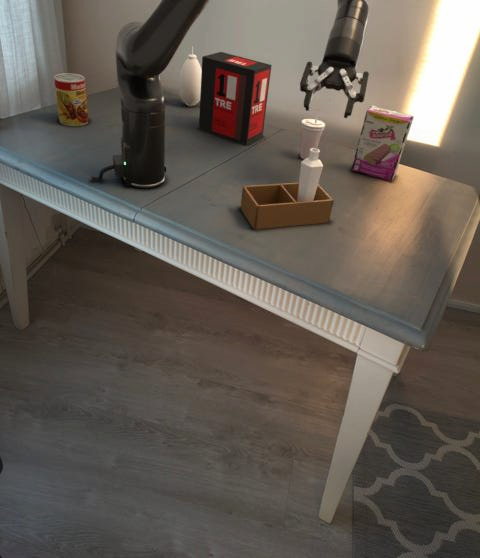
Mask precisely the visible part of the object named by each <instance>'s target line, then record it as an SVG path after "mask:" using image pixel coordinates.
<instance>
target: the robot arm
mask: <svg viewBox="0 0 480 558" xmlns="http://www.w3.org/2000/svg"><path fill="white" fill-rule="evenodd" d="M210 2H211V0H161V1H160V2H159V4H158V5H157V7H156V8H155V9H154V10H153V12H152V13H151V14H150V16H149V17H148V18H147V19H146V20H145V21H141V20H132V21H128V22H127V23H125V24H124V25H122V26H121V28H120V29H119V31H118V32H117V35H116V38H115V46H114V47H115V48H114V50H115V51H114V53H115V66H116V67H115V68H116V81H117V88H118V92H119V93H118V94H119V96H120V109H121V110H120V113H121V133H122V135H121V137H120V145H121V154H113V155H112V164H111V165H108V166H105V167H103V168H101V170H100V171H99V172H98V176H91V181H92V182H99V181H101V180H103V178H104V174H105V173H107V172H109V171H111V170H113V171H114V174H115V177H116V178H123V181H124V183H125V186H126V187H133V188H138V189H153V188H158V187H160V186H162V185H163V184H164V183H165V180H166V177H165V174H166V173H167V167H166V166H165V157H166V156H165V155H166V154H165V151H166V149H165V148H166V147H165V145H166V144H165V143H166V141H165V139H166V138H165V137H166V136H165V135H166V134H165V133H166V132H165V131H166V129H165V128H166V127H165V125H166V118H165V117H166V96H165V92H164V89H163V86H162V80H161V74H162V73H163V72H164V71H165V70H166V69H167V67H168V66H169V64H170V63H171V61H172V59H173V58H174V55H175V54H176V52H177V51H178V49H179V47H180V46H181V44H182V42H183V40H184V39H185V37H186V35H187V34H188V32H189V30H190V29H191V27H192V26H193V25H194V23H195V22H196V20H197V19H198V18H199V16H201V14H202V13H203V11H204V10H205V9H206V8H207V6H208V5H209V3H210ZM369 14H370V7H369V4H368V2H367V1H366V0H337V10H336V12H335V17H334V21H333V25H332V27H331V30H330V31H329V35H328V40H327V42H326V46H325V50H324V53H323V58H322V60H321V63H320V64H319V65H314V64H313V62H312V61H308V62H306V65H305V66H304V67H305V68H304V70H303V74H302V76H301V79H300V82H299V91H300V92H302V93H305V96H304V99H303V108H305V111H308V112H309V111H310V108H311V105H312V100H313V96H314V94H315V93H316V92H319V91H321V90H322V89H323V88H324V87H325V89H327V90H334V91H338V92H340V91H341V90H342V91H343V93H344V95H345V97H347V102H346V106H345V109H344V114H343V118H344V119H348V117H351V115H352V114H353V110H354V106H355V103H364V101H365V97H366V91H367V86H368V81H369V75H370V73H369V71H363V72H357V70H356V69H357V66H358V61H359V58H360V54H361V51H362V48H363V43H364V42H363V41H364V37H365V31H366V27H367V24H368V23H367V22H368V18H369ZM316 73H317V75H318V76H317V77H315V79H314V80H313V81H312V82H311V83H310V84H309V81H310V78H311V77H312V76H314V75H315V74H316ZM355 80H356V81H357V83H358V85H360V88H359V92H357V93H356V91H355V90H354V89H355V88H353V84H352V83H354V81H355Z"/></svg>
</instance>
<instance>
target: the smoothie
mask: <svg viewBox="0 0 480 558" xmlns="http://www.w3.org/2000/svg"><path fill="white" fill-rule="evenodd" d="M319 113H320V106H319V105H318V106H317V108H316V112H315V118H304V119H302V120H301V122H300V126H301V135H300V136H301V137H300V152H299V153H300V154H299V157H300V158H301V159H302V160H305V159H306V158H309V154H310V149H311V148H315V149H318V146H319V143H320V140H321V138H322V135H323V131H324V130H325V129H326V123H325V122H324V121H322V120H320V119H318V117H319Z"/></svg>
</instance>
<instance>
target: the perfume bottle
mask: <svg viewBox="0 0 480 558" xmlns="http://www.w3.org/2000/svg"><path fill="white" fill-rule="evenodd" d="M320 152H321V150H320V149H319V148H317V149H315V148H311V149H310V154H309V158H306V159H302V161H301V162H300V171H299V181H298V183H299V189H298V198H297V202H305V201H313V200H314V196H315V193H316V189H317V186H318V184H319V182H320V178H321V176H322V175H321V174H322V171H323V168H324V165H323V163H322V160H320V159H319V155H320Z"/></svg>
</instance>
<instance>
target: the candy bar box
mask: <svg viewBox="0 0 480 558" xmlns="http://www.w3.org/2000/svg"><path fill="white" fill-rule="evenodd" d="M413 121H414V115H411V114H408V113H404V112H399V111H394V110H391V109H388V108H383V107H380V106H375V105H370V106H369V108H367V109H366V112H365V115H364V120H363V123H362V128H361V131H360V135H359V139H358V143H357V146H356V151H355V154H354V158H353V162H352V166H351V171H353V172H356V173H359V174H362V175H367V176H370V177H373V178H378V179H380V180H381V179H382V180H384V181H388V182H392V181H393V180H394V178H395V177H396V175H397V171H398V168H399V165H400V161H401V159H402V155H403V152H404V149H405V145H406V142H407V140H408V136H409V133H410V130H411V127H412V124H413Z"/></svg>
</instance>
